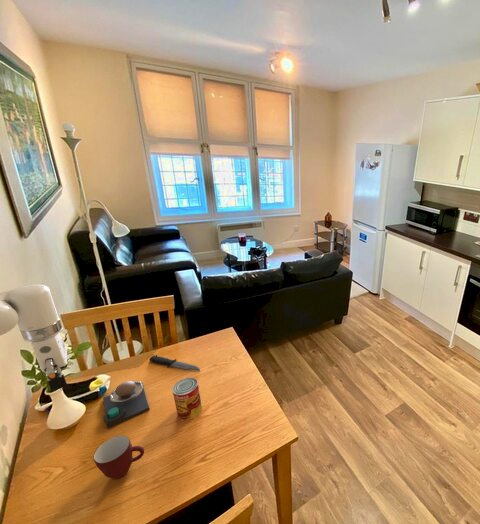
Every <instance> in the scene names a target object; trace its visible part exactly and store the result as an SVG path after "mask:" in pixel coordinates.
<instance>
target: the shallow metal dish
mask: <svg viewBox="0 0 480 524" xmlns="http://www.w3.org/2000/svg"><path fill="white" fill-rule="evenodd" d="M131 381H132V382H134V383H135V384H136V388H135V390H134V391H133V392H132V393H131V394H129V395H127V396H118V395H116V393H115V390H116V388H115V389H114V390H112V391H111V392H110V393H109V395H110V399H111V402H112V403H120V404H122V403H125V402H128V401H131V400H133V399H135V398H136V397H137V396H138V395H139V394H140V393H141V392H142V391H143V387H144V385H143V386H142V383H143V382H142V381H138V380H131Z"/></svg>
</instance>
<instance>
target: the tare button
mask: <svg viewBox="0 0 480 524" xmlns="http://www.w3.org/2000/svg"><path fill="white" fill-rule="evenodd" d="M108 415H109V417H110V418H114V417H116V416H117V415H119V409H118V408H117V407H115V408H112V409H110V410H109V411H108Z"/></svg>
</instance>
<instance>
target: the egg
mask: <svg viewBox="0 0 480 524" xmlns="http://www.w3.org/2000/svg"><path fill="white" fill-rule="evenodd" d="M132 381H133V380H127V381H123V382H120V384H118V385H117V386H116V387H115V389H116V390H115V389H114V390H115V393H116V395H118V396H127V395H129V394H131V393H132V392H133V391H134V390H135V388H136V384H135V383H134V382H132Z"/></svg>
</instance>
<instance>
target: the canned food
mask: <svg viewBox="0 0 480 524" xmlns="http://www.w3.org/2000/svg"><path fill="white" fill-rule="evenodd" d="M171 391H172V395H173V400H174V404H175V409H176V414H177V417H178V418H179V420H181V421H189V420H192V419H194V418H196V417H197V416H198V415H199V414H200V413H201V412H202V410H203V402H202V396H201V391H200V386H199V381H198V379H197V378H195V377H190V376H189V377H185V378H182V379H180V380H178V381H176V382H175V383H174V385H173V386H172V389H171Z"/></svg>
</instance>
